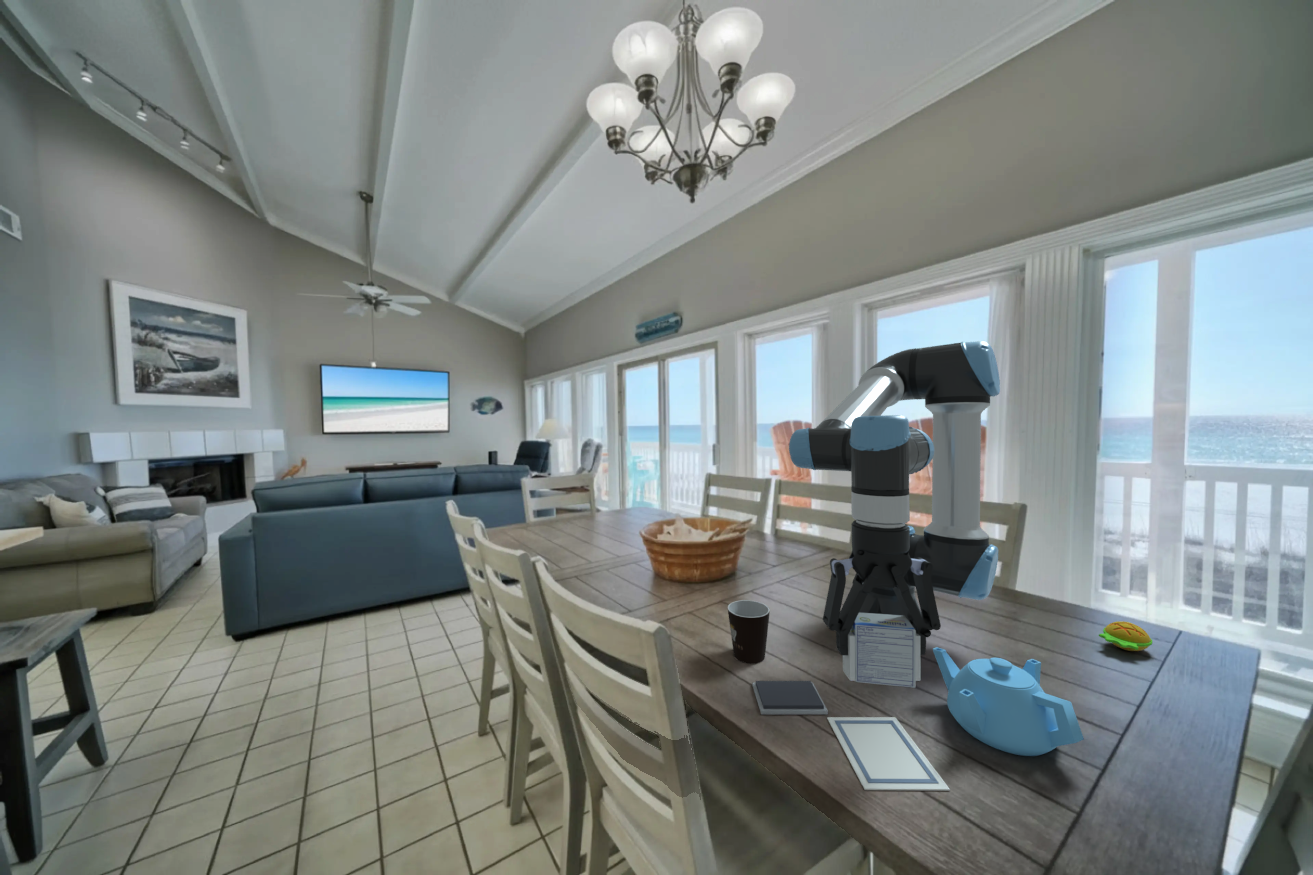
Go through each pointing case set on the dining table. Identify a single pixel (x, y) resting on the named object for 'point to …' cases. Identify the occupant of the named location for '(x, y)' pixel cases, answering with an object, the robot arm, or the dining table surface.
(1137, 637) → the toy burger
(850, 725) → the print sheet
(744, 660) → the coffee mug
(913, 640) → the medicine box
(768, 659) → the dining table surface
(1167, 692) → the dining table surface
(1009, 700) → the teapot
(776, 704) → the ink pad
